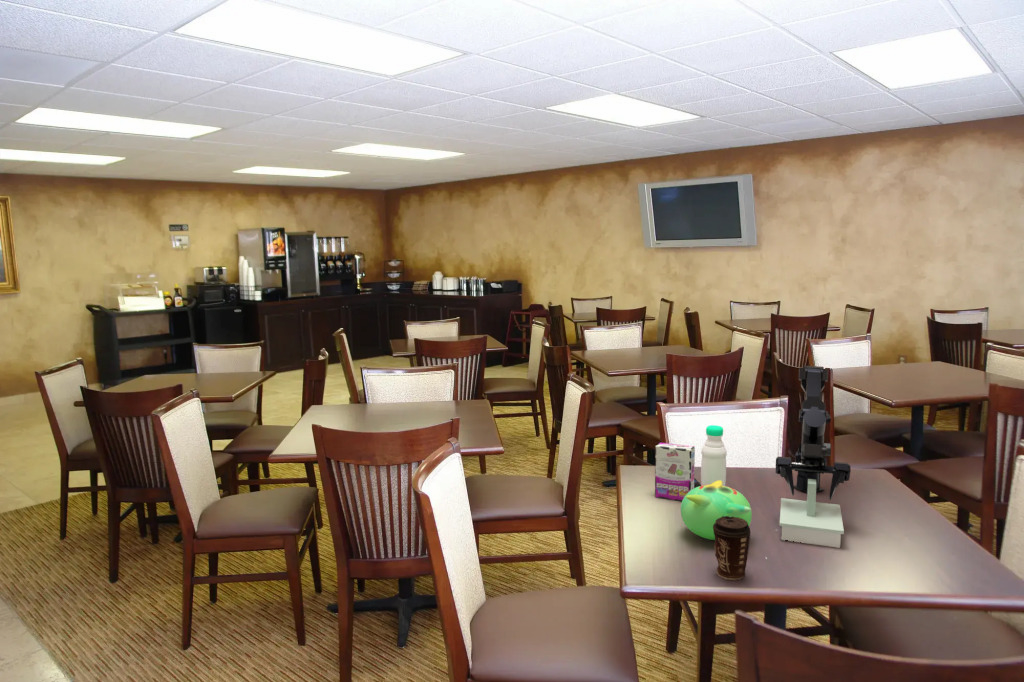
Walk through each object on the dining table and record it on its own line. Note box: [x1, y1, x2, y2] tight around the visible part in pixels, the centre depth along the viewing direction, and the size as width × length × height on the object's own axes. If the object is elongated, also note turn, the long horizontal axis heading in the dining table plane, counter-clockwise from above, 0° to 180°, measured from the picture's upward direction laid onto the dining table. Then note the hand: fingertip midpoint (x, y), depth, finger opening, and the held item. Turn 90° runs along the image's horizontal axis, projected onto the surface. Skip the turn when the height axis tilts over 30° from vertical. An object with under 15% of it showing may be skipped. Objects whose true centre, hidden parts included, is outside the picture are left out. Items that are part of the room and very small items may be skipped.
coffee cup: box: [713, 516, 751, 581], centre depth 166 cm, size 9×8×13 cm
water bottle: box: [700, 424, 728, 486], centre depth 205 cm, size 7×7×25 cm
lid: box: [779, 479, 845, 535], centre depth 190 cm, size 15×19×11 cm
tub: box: [780, 526, 842, 549], centre depth 191 cm, size 14×18×4 cm
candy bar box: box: [654, 442, 696, 502], centre depth 216 cm, size 11×5×16 cm, turn 62°
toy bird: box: [680, 480, 753, 541], centre depth 186 cm, size 18×17×15 cm
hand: (811, 496), depth 189 cm, fingers open, 9 cm apart
